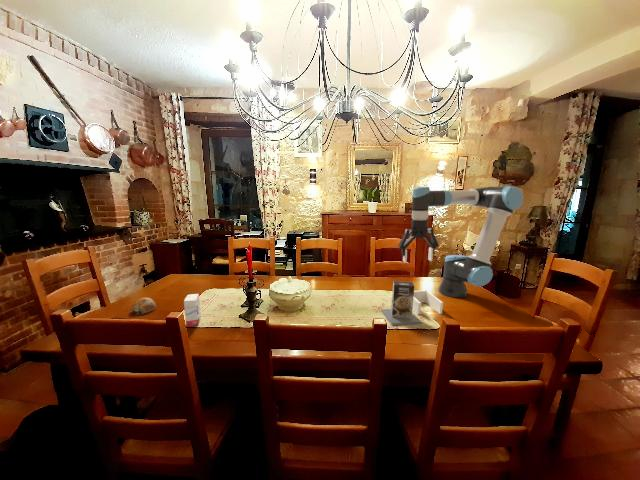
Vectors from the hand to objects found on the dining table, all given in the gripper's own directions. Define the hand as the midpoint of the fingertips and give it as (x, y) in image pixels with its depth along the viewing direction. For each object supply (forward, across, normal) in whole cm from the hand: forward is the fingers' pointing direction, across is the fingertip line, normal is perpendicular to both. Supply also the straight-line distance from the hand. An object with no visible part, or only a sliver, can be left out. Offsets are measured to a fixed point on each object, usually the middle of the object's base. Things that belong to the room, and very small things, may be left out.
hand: (417, 261), depth 133 cm
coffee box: (+24, +12, +10) cm, 28 cm away
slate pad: (+24, +13, +10) cm, 29 cm away
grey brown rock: (+20, +136, -11) cm, 138 cm away
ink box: (+21, +108, +4) cm, 111 cm away
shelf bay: (+25, -4, 0) cm, 25 cm away
